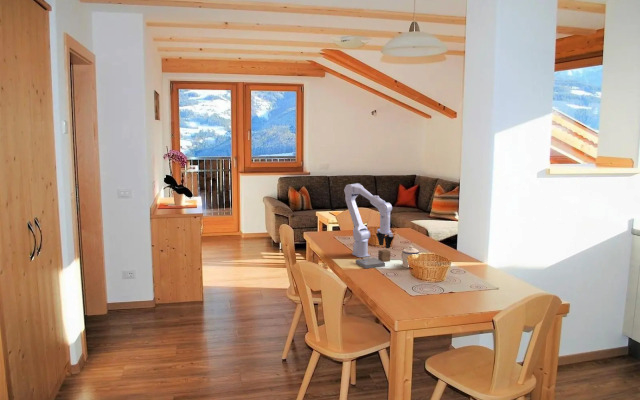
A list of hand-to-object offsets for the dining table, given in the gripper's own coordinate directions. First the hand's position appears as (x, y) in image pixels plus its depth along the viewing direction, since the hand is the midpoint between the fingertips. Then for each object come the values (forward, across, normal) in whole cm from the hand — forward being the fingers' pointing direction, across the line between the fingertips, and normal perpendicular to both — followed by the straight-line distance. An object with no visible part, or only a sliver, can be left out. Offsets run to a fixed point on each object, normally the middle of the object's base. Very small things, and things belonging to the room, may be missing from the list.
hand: (384, 246), depth 286 cm
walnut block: (+8, 0, 0) cm, 8 cm away
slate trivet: (+8, -5, +12) cm, 15 cm away
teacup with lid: (+9, -15, -7) cm, 19 cm away
